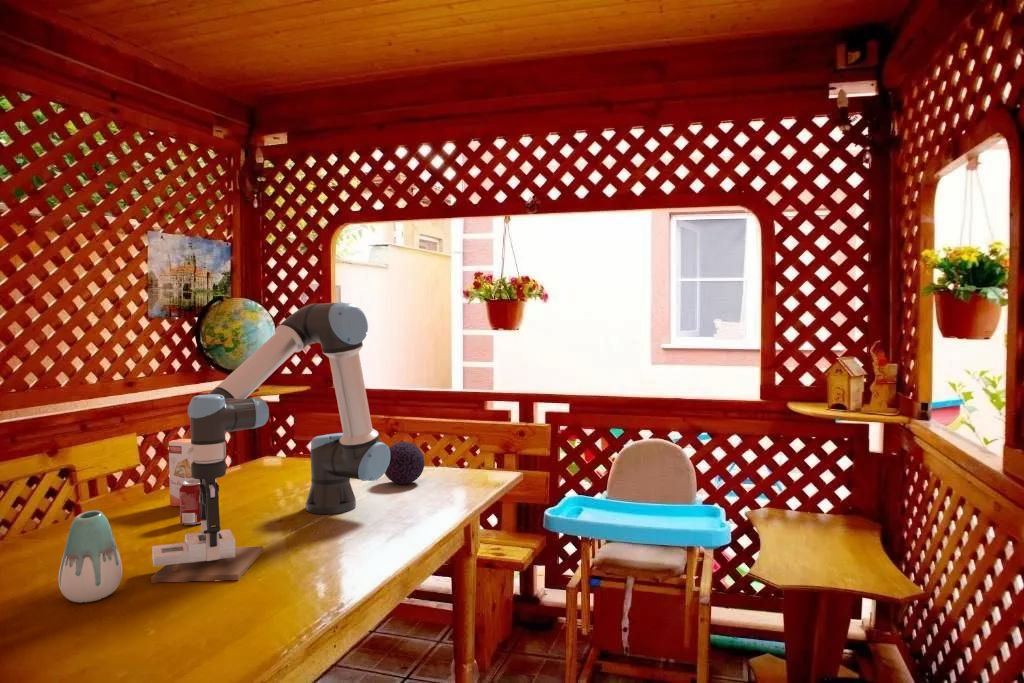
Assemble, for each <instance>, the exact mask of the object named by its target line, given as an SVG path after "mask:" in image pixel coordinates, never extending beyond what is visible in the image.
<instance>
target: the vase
mask: <svg viewBox="0 0 1024 683" xmlns="http://www.w3.org/2000/svg"><path fill="white" fill-rule="evenodd" d="M110 524H111V523H110V522H109V520H108V518H107V517H106V516H105V514H104V513H103V512H102V511H101V510H89V511H88V510H87V511H85V512H81V513H80V514H78V515H76V516H75V517H74V519H73V520H72V522H71V523H70V528H69V530H68V533H67V539H66V543H65V547H64V550H63V555H62V558H61V563H60V567H59V571H58V587H59V590H60V593H61V594H62V595H63V596H64V597H65V598H66V599H67V600H68V601H71V602H73V603H83V602H84V603H92V602H96V601H100V600H102V598H103V599H105V598H107V597H109V596H110V595H111V594H113V593H114V592H115V591H117V589H118V587H119V585H120V583H121V581H122V578H123V563H122V558H121V555H120V551H119V549H118V548H119V547H118V545H117V543H116V540H115V538H114V534H113V530H112V528H111V527H112V526H111V525H110ZM84 603H83V604H84Z"/></svg>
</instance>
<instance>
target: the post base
mask: <svg viewBox="0 0 1024 683" xmlns="http://www.w3.org/2000/svg"><path fill="white" fill-rule="evenodd" d="M205 540H206V535H204V536H203V541H205ZM263 548H264V547H263V546H240V547H239V546H238V547H237V546H235V557H232V558H223V559H217V560H211V561H199V562H190V563H179V564H171V565H163V566H162V567H161V568H160V569H159V570H158V571H156V573H154V574H153V575H152V576H150V577H151V579H150V580H151V584H157V583H156V582H182V583H189V582H188V581H214V582H216V581H215V580H222V581H221V582H224V581H223V580H239V579H240V578H242V577H243V576H244V575H245V574H246V573H247V572H248V571H249V569H250V568H251V567H252V566H253V565H254V563H255V562H256V561H257V560H258V559H259V558H260V556H261V555H262V554H263V553H262V552H263V551H264V549H263ZM261 553H262V554H261ZM260 554H261V555H260ZM257 558H258V559H257ZM256 559H257V560H256ZM255 560H256V561H255ZM254 561H255V562H254ZM253 562H254V563H253ZM251 565H252V566H251ZM250 566H251V567H250ZM249 567H250V568H249ZM248 568H249V569H248ZM245 572H246V573H245ZM244 573H245V574H244ZM243 574H244V575H243ZM242 575H243V576H242ZM240 580H241V579H240ZM240 580H239V581H240Z"/></svg>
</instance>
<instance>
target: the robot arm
mask: <svg viewBox="0 0 1024 683" xmlns="http://www.w3.org/2000/svg"><path fill="white" fill-rule="evenodd" d="M274 330H275V331H274V332H275V333H274V334H273V335H272V336H271V337H270V338H269V339H267V340H266V341H265V342H264V343H263V344H261V345H260V347H259V348H258V349H257V350H255V351H254V352H253V353H252V354H251V355H249V357H248V358H246V360H244V361H243V362H242V363H241V364H240V365H239V366H238V367H236V368H235V370H233V371H232V372H231V373H230V374H229V375H228V376H227V377H226V378H225V379H224V380H222V381H221V382H220V383H219V384H218V385H217V386H216V387H214V389H212V390H211V391H210V392H209V393H208V394H199V395H195V396H192V397H191V400H190V402H189V404H188V406H187V415H188V417H189V423H190V439H191V446H192V447H191V448H189V449H188V451H189V452H191V459H192V460H193V461H194V462H192V463H191V476H192V478H194V479H198V480H200V484H199V491H200V512H199V514H200V515H201V516H200V518H201V520H202V521H201V524H200V532H204V534H206V558H207V561H211V560H217V559H220V555H219V531H220V530H222V529H221V528H222V527H221V526H220V525H221V523H220V522H221V520H220V518H221V517H220V503H219V501H220V498H219V492H220V485H219V484H218V481H217V482H216V481H215V479H216V478H217V479H218V478H219V479H220V478H222V477H224V476H225V475H226V473H227V470H226V469H227V466H226V464H227V463H226V460H225V458H226V457H227V452H226V450H227V447H226V446H227V445H226V444H227V443H226V433H230V432H237V431H244V430H250V429H251V430H253V429H257V428H260V427H263V426H264V425H266V424H267V422H268V421H269V417H270V409H269V406H268V404H267V402H266V401H265V399H263V398H260V397H249V396H250V395H251V394H252V393H253V392H255V391H256V390H257V388H258V387H260V386H261V385H262V384H263V383H264V382H265V381H266V380H267V379H268V378H269V377H271V375H272V374H273V373H274V372H275V371H276V370H277V369H279V367H280V366H282V365H283V364H284V363H285V362H286V361H287V360H288V359H289V358H290V357H291V356H292V355H293V354H294V353H300V352H301V351H302V350H303V349H305V348H306V347H307V346H310V345H313V344H320V346H321V351H322V354H323V355H325V356H326V357H327V358H328V360H329V365H330V371H331V374H332V375H331V376H332V381H333V382H332V383H333V386H334V390H335V397H336V400H337V401H336V402H337V407H338V412H339V417H340V424H341V429H342V432H337V433H336V432H335V433H329V434H324V435H323V434H322V435H317V436H315V437H313V438H312V439H311V443H310V451H309V453H310V476H311V477H310V478H311V479H310V480H311V484H310V485H311V486H310V487H309V491H308V495H307V498H306V501H305V510H306V512H307V513H310V514H316V515H334V514H341V513H346V512H349V511H352V510H354V509H355V508H356V507H357V506H356V505H357V499H356V496H355V493H354V491H353V488H352V484H351V479H353V480H354V479H355V480H360V481H361V482H367V481H368V482H374V481H378V480H380V479H381V478H382V477H383V475H385V472H386V470H387V468H388V466H389V463H390V450H389V447H390V446H388V444H387V445H386V443H385V442H382V441H381V440H380V439H381V438H380V436H379V432H378V430H376V429H374V428H373V424H372V419H371V414H370V407H369V402H368V397H367V390H366V385H365V380H364V374H363V369H362V363H361V358H360V350H361V349H362V348H363V347H364V344H363V341H364V340H365V339H366V337H367V333H368V330H369V323H368V319H367V316H366V314H365V313H364V312H363V310H362V308H360V307H358V306H357V305H356V304H354V303H346V302H342V301H341V302H326V303H319V302H318V303H311V304H307V305H305V306H303V307H301V308H299V309H298V310H296V311H294V312H293V313H292V314H291V315H289V316H288V317H287V318H286V319H284V320H283V321H282V322H281V323H280V324H279V325H277V327H275V329H274ZM248 397H249V398H248Z"/></svg>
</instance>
